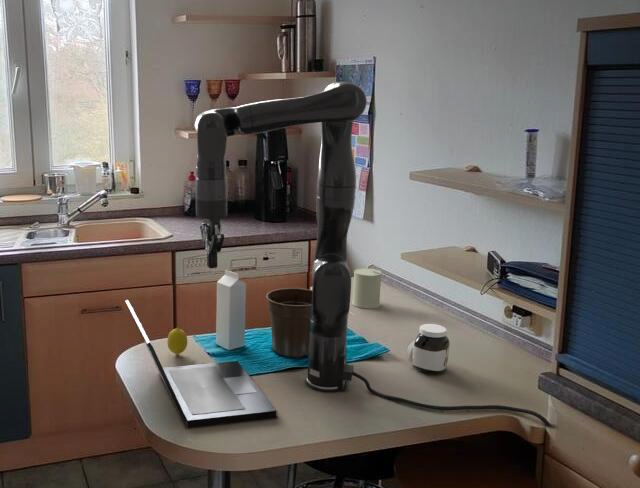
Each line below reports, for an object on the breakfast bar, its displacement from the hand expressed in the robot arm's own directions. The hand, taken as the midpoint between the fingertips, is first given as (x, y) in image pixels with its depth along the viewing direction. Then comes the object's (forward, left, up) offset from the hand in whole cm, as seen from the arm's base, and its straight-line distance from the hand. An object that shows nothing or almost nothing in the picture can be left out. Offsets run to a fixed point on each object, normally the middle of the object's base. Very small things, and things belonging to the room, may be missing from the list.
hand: (212, 267), depth 178 cm
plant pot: (-15, -31, -31) cm, 47 cm away
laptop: (-2, +4, -31) cm, 32 cm away
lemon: (+15, -17, -32) cm, 39 cm away
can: (-31, -80, -31) cm, 92 cm away
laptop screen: (+10, +11, -20) cm, 25 cm away
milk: (+3, -29, -31) cm, 43 cm away
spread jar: (-51, -31, -31) cm, 68 cm away
